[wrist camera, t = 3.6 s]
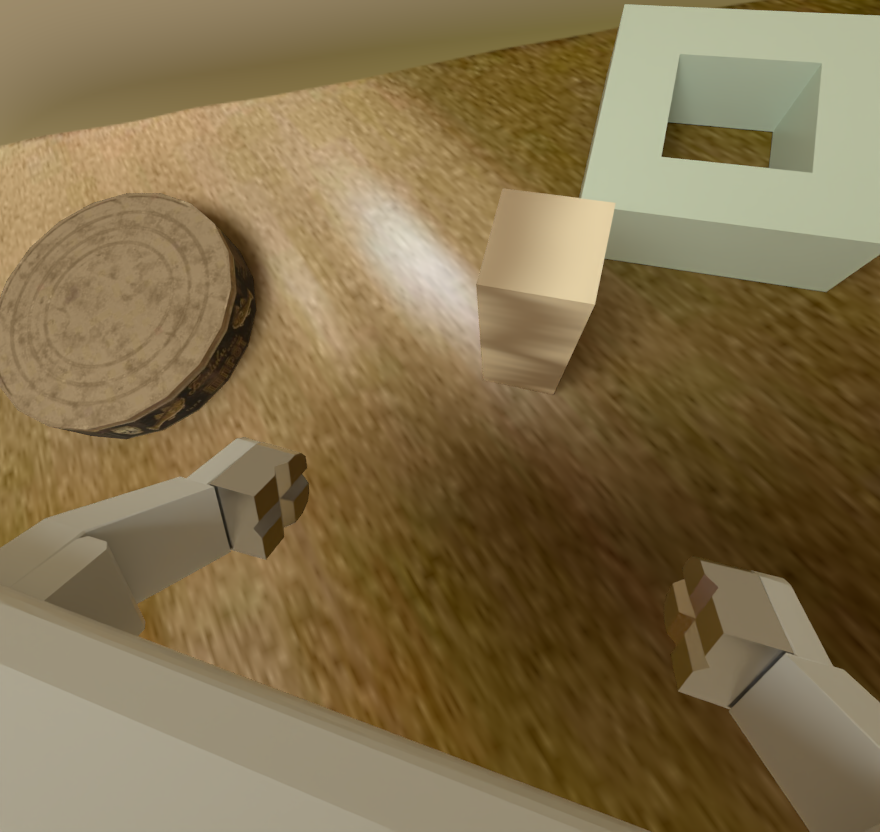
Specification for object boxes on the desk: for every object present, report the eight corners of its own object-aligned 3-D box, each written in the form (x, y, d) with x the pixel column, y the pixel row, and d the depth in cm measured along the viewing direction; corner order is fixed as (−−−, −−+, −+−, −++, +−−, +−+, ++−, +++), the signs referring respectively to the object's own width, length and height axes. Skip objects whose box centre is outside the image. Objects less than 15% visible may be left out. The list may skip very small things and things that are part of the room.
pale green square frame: (840, 92, 26) (901, 16, 22) (825, 291, 23) (893, 245, 19) (606, 74, 28) (624, 4, 25) (566, 252, 25) (579, 204, 22)
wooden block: (567, 330, 24) (615, 202, 15) (553, 394, 23) (595, 304, 14) (499, 317, 25) (502, 188, 15) (483, 379, 24) (476, 284, 14)
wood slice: (292, 241, 29) (269, 210, 26) (203, 467, 25) (165, 460, 22) (102, 209, 31) (62, 178, 29) (0, 408, 28) (-57, 395, 25)
